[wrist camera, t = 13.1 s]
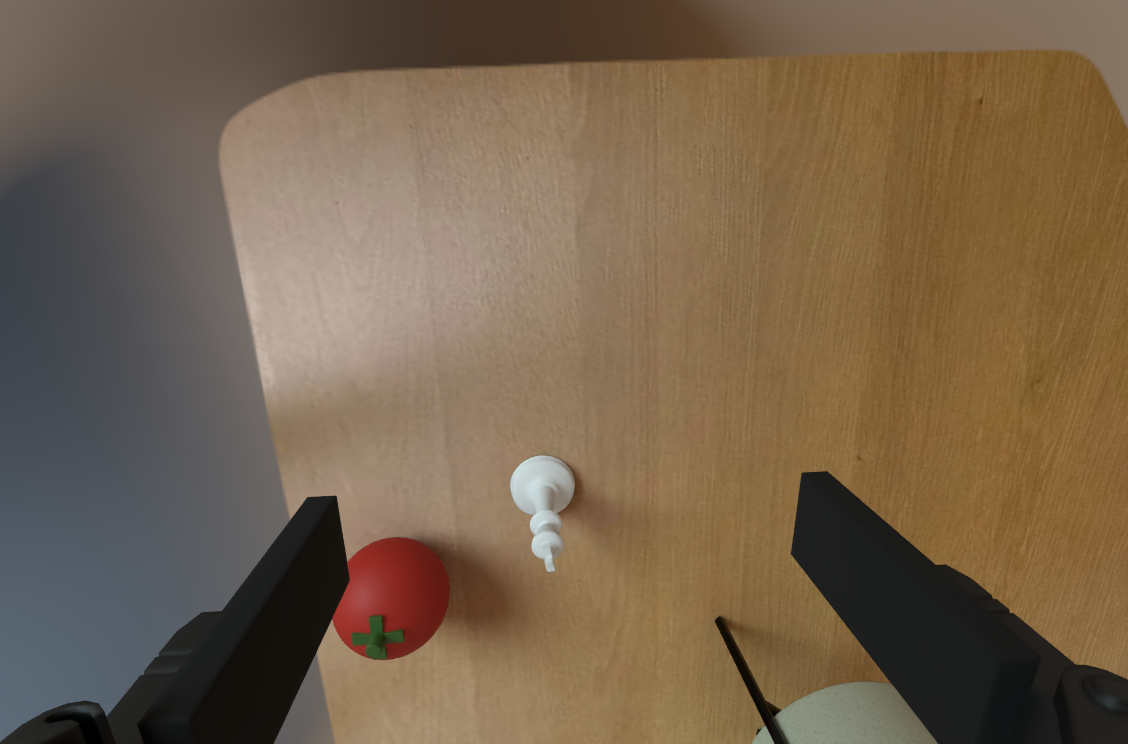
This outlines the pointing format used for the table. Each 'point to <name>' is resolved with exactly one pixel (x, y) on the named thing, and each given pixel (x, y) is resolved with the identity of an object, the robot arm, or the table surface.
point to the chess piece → (544, 502)
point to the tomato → (392, 599)
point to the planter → (833, 712)
